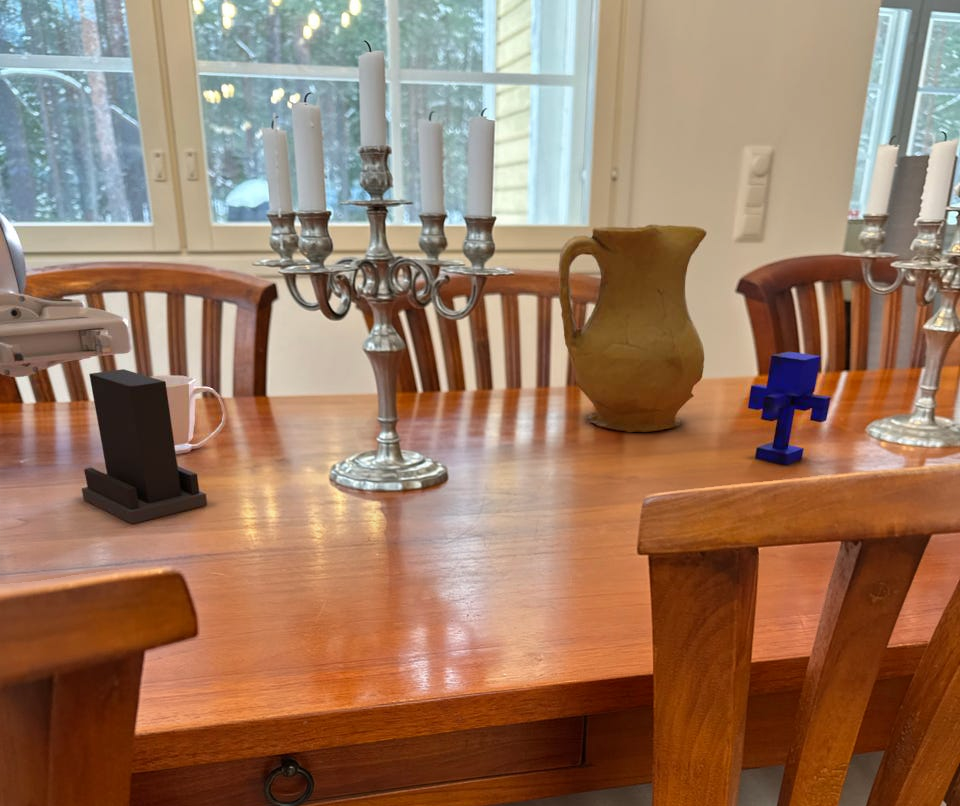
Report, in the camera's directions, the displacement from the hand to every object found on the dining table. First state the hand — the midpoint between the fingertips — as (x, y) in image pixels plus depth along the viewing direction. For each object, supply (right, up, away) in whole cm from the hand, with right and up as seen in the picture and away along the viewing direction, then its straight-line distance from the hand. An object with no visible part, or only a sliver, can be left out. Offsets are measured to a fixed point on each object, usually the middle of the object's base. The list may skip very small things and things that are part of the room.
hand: (63, 350), depth 90 cm
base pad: (+9, -16, -1) cm, 18 cm away
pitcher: (+63, +1, +34) cm, 71 cm away
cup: (+7, -7, +17) cm, 19 cm away
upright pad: (+9, -14, -2) cm, 17 cm away
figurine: (+78, -8, +17) cm, 80 cm away
